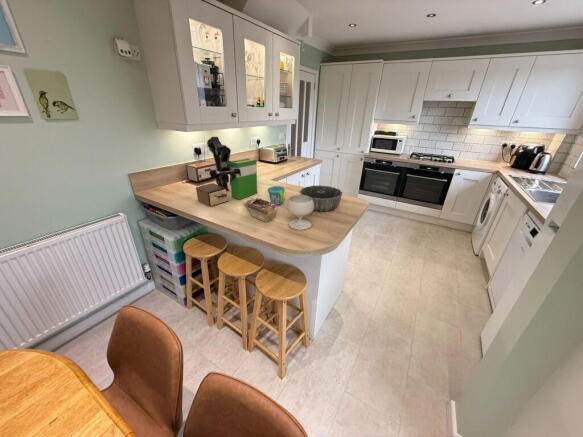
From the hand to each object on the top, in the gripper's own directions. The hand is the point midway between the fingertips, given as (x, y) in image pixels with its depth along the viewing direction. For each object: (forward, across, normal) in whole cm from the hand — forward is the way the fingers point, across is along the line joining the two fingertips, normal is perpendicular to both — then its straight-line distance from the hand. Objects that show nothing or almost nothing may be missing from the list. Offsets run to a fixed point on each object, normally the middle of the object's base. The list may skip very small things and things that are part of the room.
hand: (226, 185), depth 145 cm
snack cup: (+13, +30, +6) cm, 34 cm away
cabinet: (+3, -11, +15) cm, 19 cm away
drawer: (+5, -8, +12) cm, 15 cm away
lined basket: (+26, +17, -7) cm, 32 cm away
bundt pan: (+21, +57, -1) cm, 60 cm away
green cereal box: (-2, +11, +19) cm, 22 cm away
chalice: (+36, +38, -17) cm, 55 cm away
